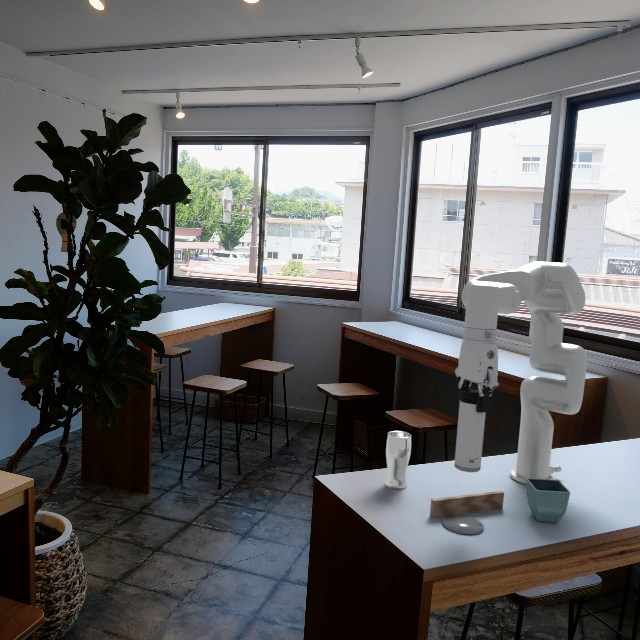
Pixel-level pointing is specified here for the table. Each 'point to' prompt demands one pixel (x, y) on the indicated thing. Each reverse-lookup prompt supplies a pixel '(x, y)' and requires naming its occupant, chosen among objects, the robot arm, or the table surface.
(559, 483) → the flower pot
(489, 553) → the table surface
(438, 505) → the rail
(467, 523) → the grey flat disc
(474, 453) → the travel mug
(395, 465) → the beer glass
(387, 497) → the table surface
